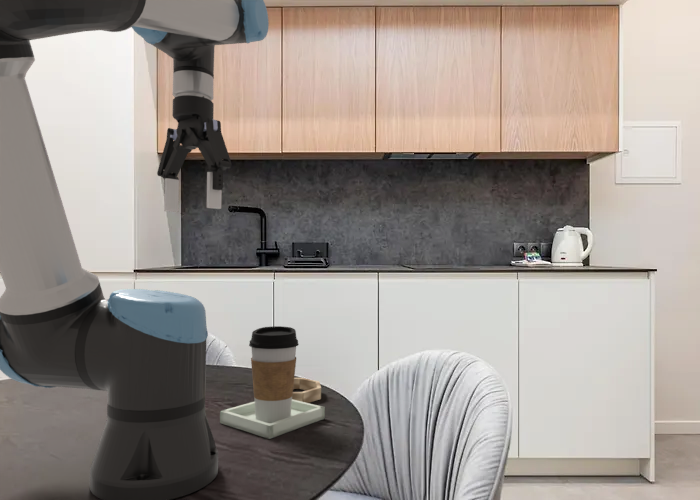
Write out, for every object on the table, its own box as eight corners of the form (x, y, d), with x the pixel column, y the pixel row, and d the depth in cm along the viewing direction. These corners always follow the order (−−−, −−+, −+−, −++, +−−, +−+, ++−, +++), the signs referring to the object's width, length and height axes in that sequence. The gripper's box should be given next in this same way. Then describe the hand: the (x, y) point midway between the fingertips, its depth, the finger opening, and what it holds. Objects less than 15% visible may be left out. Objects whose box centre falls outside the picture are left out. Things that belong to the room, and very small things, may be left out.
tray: (269, 439, 79) (269, 425, 79) (219, 423, 86) (220, 411, 86) (324, 418, 89) (324, 407, 89) (276, 405, 97) (276, 395, 97)
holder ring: (289, 409, 95) (289, 397, 95) (243, 397, 103) (244, 386, 103) (332, 395, 105) (333, 384, 105) (288, 385, 113) (288, 375, 113)
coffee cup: (302, 410, 92) (302, 326, 92) (292, 426, 83) (293, 333, 84) (255, 409, 93) (257, 325, 93) (241, 424, 84) (242, 332, 84)
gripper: (251, 92, 94) (250, 208, 94) (173, 114, 109) (171, 214, 109) (218, 80, 88) (216, 204, 88) (140, 106, 103) (138, 211, 103)
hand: (191, 210), depth 98 cm, fingers open, 13 cm apart
